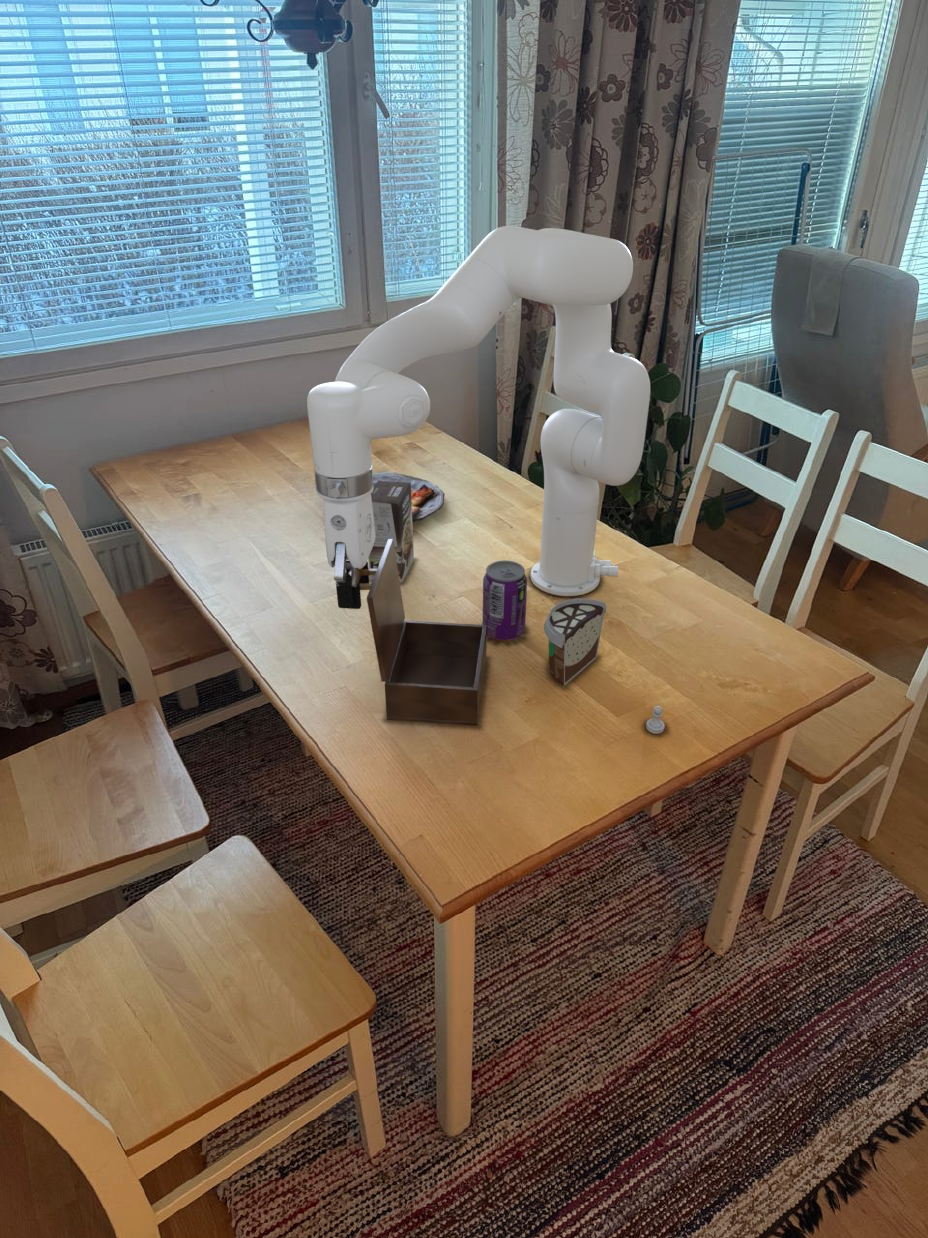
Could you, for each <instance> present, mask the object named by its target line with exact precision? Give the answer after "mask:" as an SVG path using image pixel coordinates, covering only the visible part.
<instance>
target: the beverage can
mask: <svg viewBox="0 0 928 1238" xmlns="http://www.w3.org/2000/svg"><path fill="white" fill-rule="evenodd" d="M527 594H528V578H527V575H526V570H525V567H524V566H523V565H522V564H521V563H519V562H516V561H513V560H496V561H494V562H491V563H489V564H488V565H487V567H486V569H485V574H484V576H483V579H482V623H481V625H487V637H489V638H490V639H493V640H497V641H513V640H516V639H518V638H520V637H522V636H523V635H524V633H525V631H526V617H527V616H526V615H527V613H526V612H527V599H528V598H527V596H528V595H527Z"/></svg>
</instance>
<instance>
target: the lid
mask: <svg viewBox="0 0 928 1238" xmlns="http://www.w3.org/2000/svg"><path fill="white" fill-rule="evenodd" d="M348 574H350V576H351V569H350V571H349V573H348ZM361 575H369V576H370V575H375V576H374V579H373V580H372V582H369V583H363V584H360V591H368V592H367V595H366V603H367V608H368V613H369V619H370V620H369V621H370V625H371V630H372V637H373V643H374V648H375V653H376V659H377V663H378V665H377V666H378V670H379V675H380V682H381V683H383V682H384V683H385V682H387V679H388V676H389V672H390V669H391V665H392V662H393V658H394V655H395V651H396V648H397V644H398V641H399V637H400V634H401V630H402V627H403V623H404V620H405V621H406V614H405V609H404V601H403V596H402V587H401V583H400V581H399V574H398V568H397V561H396V554H395V548H394V541H393V539H388V541H387V543H386V546H385V549H384V552H383V554H382V557H381V560H380V563H379V565H378V568H377V569H369V568H368V569H359V568H357V583H359V580H360V578H361Z"/></svg>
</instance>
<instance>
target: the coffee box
mask: <svg viewBox="0 0 928 1238" xmlns="http://www.w3.org/2000/svg"><path fill="white" fill-rule="evenodd" d="M371 499H372V507H373V516H374V524H375V542H374V545H373V547H372V550H371V553H370V555H369V558H368V569H377V568H378V565H379V563H380V560H381V557H382V554H383V552H384V549H385V546H386V543H387V541H388V539H393V541H394V548H395V554H396V561H397V568H398V574H399V581H400V584H402V583H403V582H404V580H405V579H406V576H407V575H408V572H409V570H410V568H411V567H412V564H413V563H414V560H415V554H414V551H415V549H414V531H413V530H414V528H413V522H412V501H411V483H407V482H391V481H390V482H387V481H378V482H377V483H376V485H375V486H374V488H373V492H372V493H371ZM374 576H375V575H369V581H373V579H374Z"/></svg>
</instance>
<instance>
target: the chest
mask: <svg viewBox="0 0 928 1238" xmlns="http://www.w3.org/2000/svg"><path fill="white" fill-rule="evenodd" d="M487 637H488V636H487V625H482V624H475V623H474V624H472V623H457V622H441V621H440V622H438V621H436V622H435V621H420V620H406V619H405V620H404V623H403V627H402V630H401V634H400V637H399V641H398V644H397V648H396V651H395V655H394V658H393V662H392V665H391V669H390V672H389V676H388V679H387V682H384V685H383V686H384V697H385V698H384V699H385V714H386V715H385V716H386V721H397V722H413V723H428V724H443V725H457V726H459V725H461V726H471V727H472V726H473V727H477V726H478V724H479V716H480V709H481V700H482V693H483V685H484V679H485V672H486V665H487V664H486V663H487V641H488V640H487V639H488V638H487Z"/></svg>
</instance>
